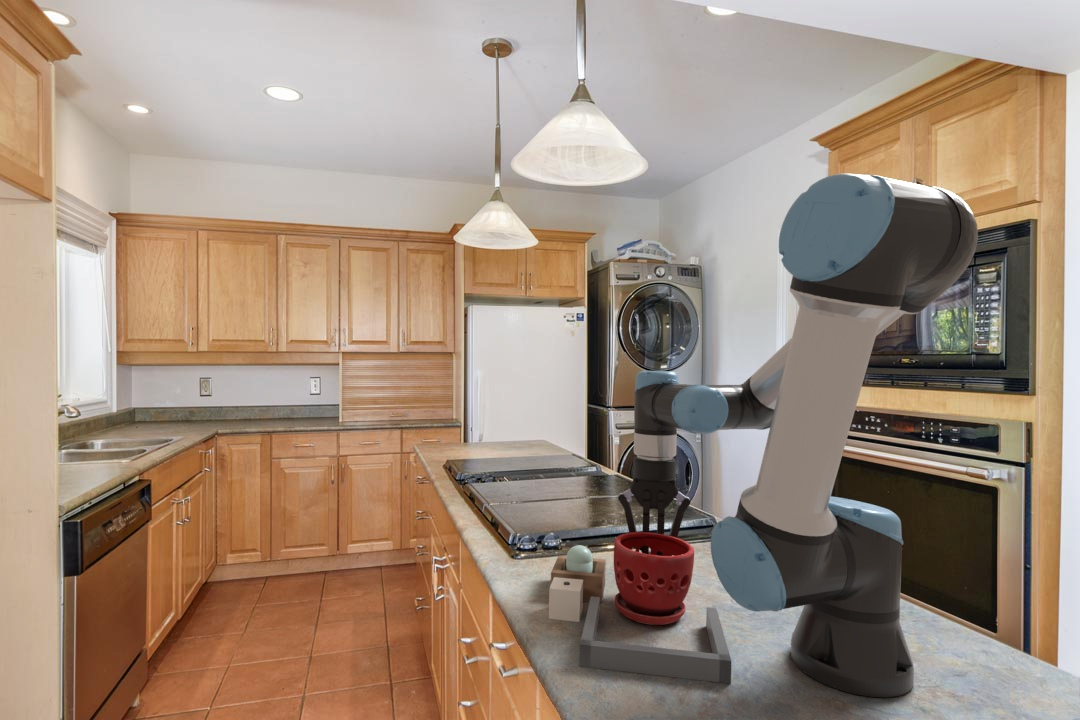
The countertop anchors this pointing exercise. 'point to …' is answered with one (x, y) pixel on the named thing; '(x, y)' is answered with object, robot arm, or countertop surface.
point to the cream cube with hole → (566, 599)
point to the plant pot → (652, 577)
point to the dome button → (579, 559)
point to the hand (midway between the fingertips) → (652, 587)
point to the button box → (584, 577)
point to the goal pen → (657, 653)
